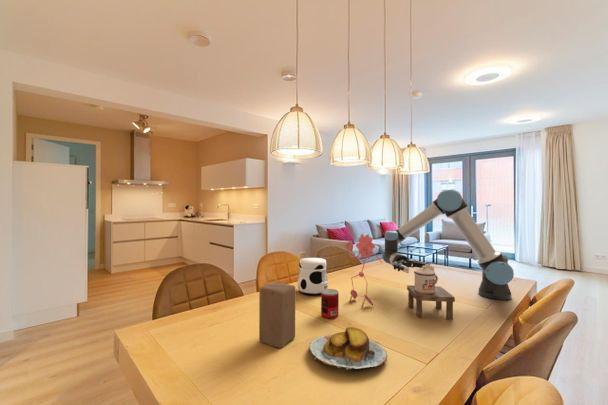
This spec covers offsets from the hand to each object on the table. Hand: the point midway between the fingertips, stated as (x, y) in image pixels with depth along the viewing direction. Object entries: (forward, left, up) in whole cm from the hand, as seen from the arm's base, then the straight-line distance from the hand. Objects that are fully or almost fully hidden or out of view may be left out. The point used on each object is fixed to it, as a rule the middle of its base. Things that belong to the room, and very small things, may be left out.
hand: (420, 269), depth 139 cm
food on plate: (+38, +48, -19) cm, 64 cm away
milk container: (+54, -17, -18) cm, 60 cm away
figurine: (+26, -3, -18) cm, 32 cm away
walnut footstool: (-2, +7, -18) cm, 19 cm away
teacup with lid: (-1, +6, -8) cm, 11 cm away
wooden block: (+63, +41, -18) cm, 77 cm away
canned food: (+44, +16, -18) cm, 50 cm away
